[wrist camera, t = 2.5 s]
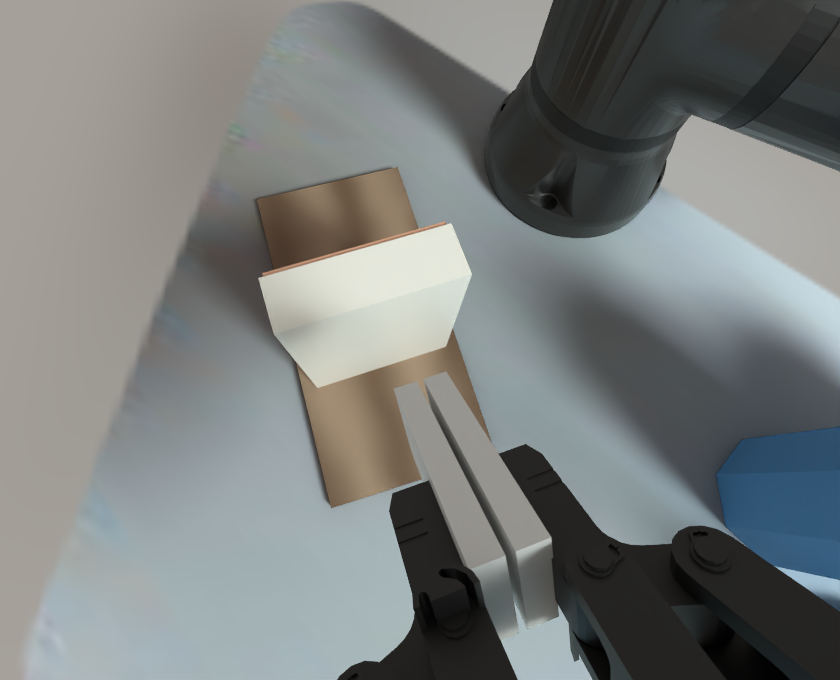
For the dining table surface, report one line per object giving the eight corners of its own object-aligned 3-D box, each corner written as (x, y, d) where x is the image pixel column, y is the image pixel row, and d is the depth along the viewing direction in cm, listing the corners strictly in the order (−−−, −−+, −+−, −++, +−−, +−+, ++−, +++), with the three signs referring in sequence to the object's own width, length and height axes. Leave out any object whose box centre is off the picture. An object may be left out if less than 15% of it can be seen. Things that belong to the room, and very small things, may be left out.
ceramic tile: (445, 346, 36) (471, 274, 24) (317, 388, 35) (273, 334, 22) (431, 308, 37) (449, 218, 24) (305, 346, 36) (256, 272, 23)
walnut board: (397, 173, 41) (397, 167, 41) (493, 456, 35) (495, 455, 34) (259, 204, 40) (256, 199, 39) (332, 507, 33) (331, 508, 32)
